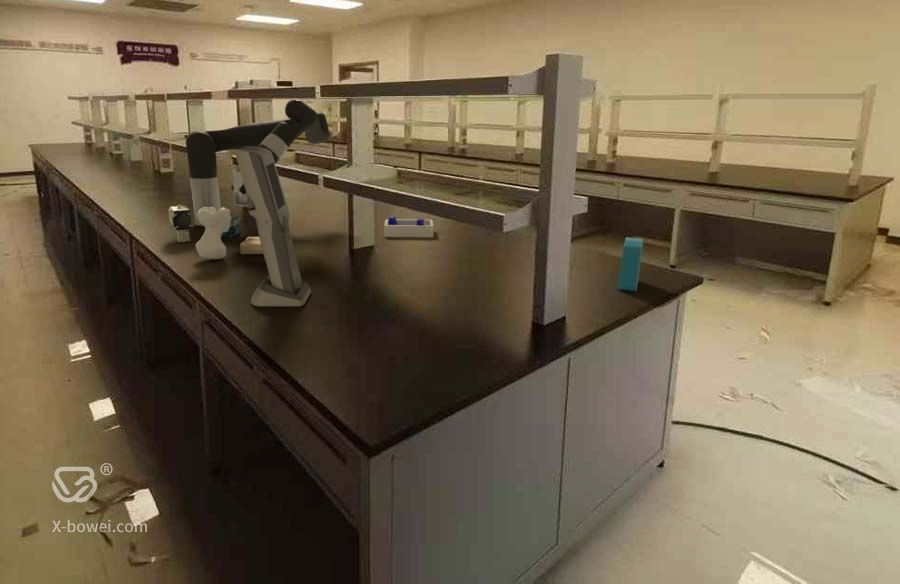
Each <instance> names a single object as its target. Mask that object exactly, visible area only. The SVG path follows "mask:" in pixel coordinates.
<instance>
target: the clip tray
mask: <svg viewBox="0 0 900 584" xmlns="http://www.w3.org/2000/svg"><path fill="white" fill-rule="evenodd" d="M417 220H418V219H405V218H404V219H403V218H402V219H401V218H400V219H399V218H398V219H397V218H396V221H397V223H398V225H389V218H388V219H387V218H386V219H385V220H384V227H383V229H384V230H383V231H384V238H434V222H433V219H424V225H416V224H417Z"/></svg>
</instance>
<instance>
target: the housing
mask: <svg viewBox="0 0 900 584" xmlns="http://www.w3.org/2000/svg"><path fill="white" fill-rule="evenodd" d="M231 173H232V183H233V184H232V185H234V190H233V195H234V202H233V206H234V207H235V208H248V207H247V206H248V194H247V192H246V193H245V194H242V193H241V192H240V191H239V188H240V187H241V186H242V185H243V184H244V183H243V179H242V176H241V172H240V169H239V166H235V169H234V170H232V171H231Z"/></svg>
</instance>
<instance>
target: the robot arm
mask: <svg viewBox="0 0 900 584" xmlns="http://www.w3.org/2000/svg"><path fill="white" fill-rule="evenodd" d="M284 113H285V116H286V117H287V118H281V119H275V120H273V119H272V120H265V121H258V122H250V123H246V124H241V125H237V126H233V127H229V128H225V129H216V130H214V129H213V130H194V131H191V133H189V134H188V135H187V137H186V138H185V148H186V154H187V162H188V173H189V183H190V190H191V197H192V206H193V216H194V225H195V226H198V227H205V226H204V225H202V224H201V223H200V222H199V220H198V218H197V213H198V211H199V210H200V209H201V208H203V207H208V208H210V207H213V208H215V209H216V212H218V211H219V209H220V208H222V207H221V199H220V198H221V197H220V191H219V188H220V187H219V181H218V164H217V155H216V153H219V152H223V151H231V150H232V151H233V150H236V149H241V148H244V147H246V146H248V147H259V148H266V149H268V150H270V151H271V153H272V155H273V158H274V162H275V164H276V165H277V164H278V162H279V161H280V160H281V158H283V156H284V154H286V152H287V150H288V149H289V148H290V147H291V145H292V144H293V143H294V141H295V140H296V139H297V138H299V137H300V136H301V135H303V134H304V136H305V139H306V141H307V142H308V143H309V144H313V145H319V144H322V143H325V142H327V141H329V139H330V137H331V134H330V130H329V129H330V128H329V125H328V122H327V117H326V115H325V114H324V113H323V112H317V111H316V110H314V109H313V108H312V107H310V106H309V105H308V104H307V103H305V102H304V101H303V100H301V101H296V100H292V99H290V100H288V101H287V103H286V104H285V108H284ZM230 188H231V190H232V191H234V185H233V184H232V185H231V186H230ZM239 191H240V192H241V193H242V194H245V193H246V189H245V186H244V184H243V185H242V186H241V187H240V188H239Z"/></svg>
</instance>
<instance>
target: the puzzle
mask: <svg viewBox="0 0 900 584" xmlns="http://www.w3.org/2000/svg"><path fill="white" fill-rule="evenodd" d="M230 217H231V221H230V223H229V225H230V227H229V230H228V231H227V232H223V233H222V234H221V237H223V236H234V237H236V236H237V234H238V235H240V234H241V233H242V232H241V223H240V216H234V215H233V216H232V215H230ZM239 233H240V234H239ZM235 235H236V236H235Z"/></svg>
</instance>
